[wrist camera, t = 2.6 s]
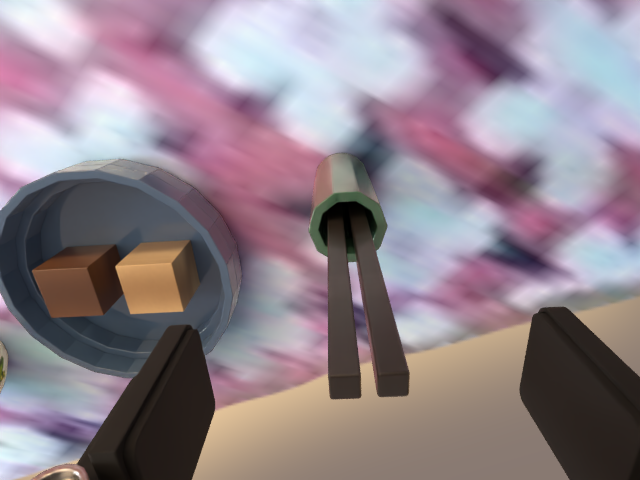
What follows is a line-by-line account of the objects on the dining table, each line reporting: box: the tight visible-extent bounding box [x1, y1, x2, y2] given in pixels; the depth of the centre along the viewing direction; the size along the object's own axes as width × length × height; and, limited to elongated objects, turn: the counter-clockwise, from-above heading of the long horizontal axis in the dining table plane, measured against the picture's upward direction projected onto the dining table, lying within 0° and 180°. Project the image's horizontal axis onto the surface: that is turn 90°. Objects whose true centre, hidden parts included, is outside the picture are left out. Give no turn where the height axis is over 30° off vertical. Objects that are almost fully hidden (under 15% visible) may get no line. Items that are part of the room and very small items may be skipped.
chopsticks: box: [327, 201, 409, 399], centre depth 19 cm, size 1×2×20 cm, turn 94°
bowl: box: [0, 159, 242, 378], centre depth 29 cm, size 17×17×4 cm
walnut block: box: [32, 244, 124, 318], centre depth 29 cm, size 4×4×4 cm
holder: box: [309, 153, 387, 262], centre depth 24 cm, size 4×4×10 cm
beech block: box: [115, 240, 200, 314], centre depth 29 cm, size 4×4×4 cm
